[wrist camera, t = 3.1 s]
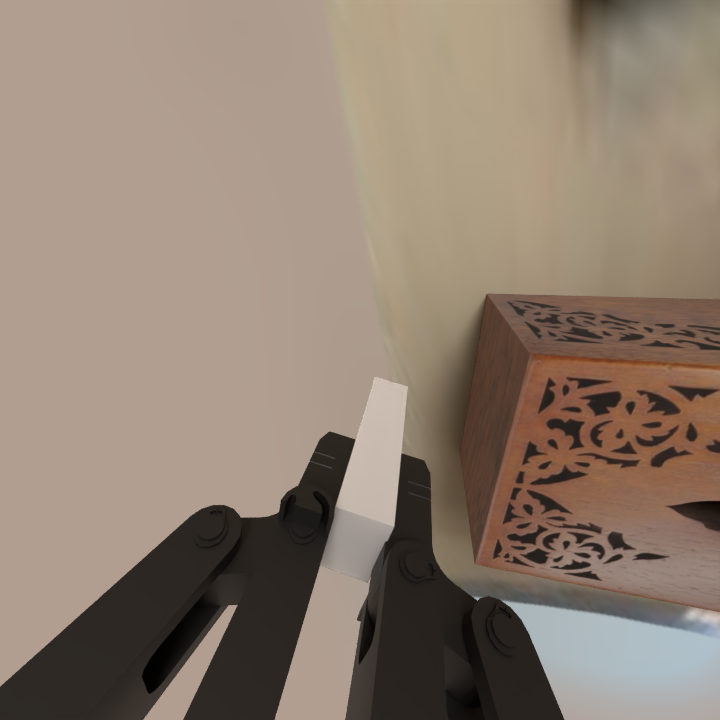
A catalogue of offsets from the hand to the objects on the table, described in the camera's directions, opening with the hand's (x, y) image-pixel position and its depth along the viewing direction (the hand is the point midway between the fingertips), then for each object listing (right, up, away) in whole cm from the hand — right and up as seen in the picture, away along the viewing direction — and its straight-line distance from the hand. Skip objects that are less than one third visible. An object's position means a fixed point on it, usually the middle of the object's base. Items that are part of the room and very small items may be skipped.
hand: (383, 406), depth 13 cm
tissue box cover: (+21, 0, +8) cm, 22 cm away
